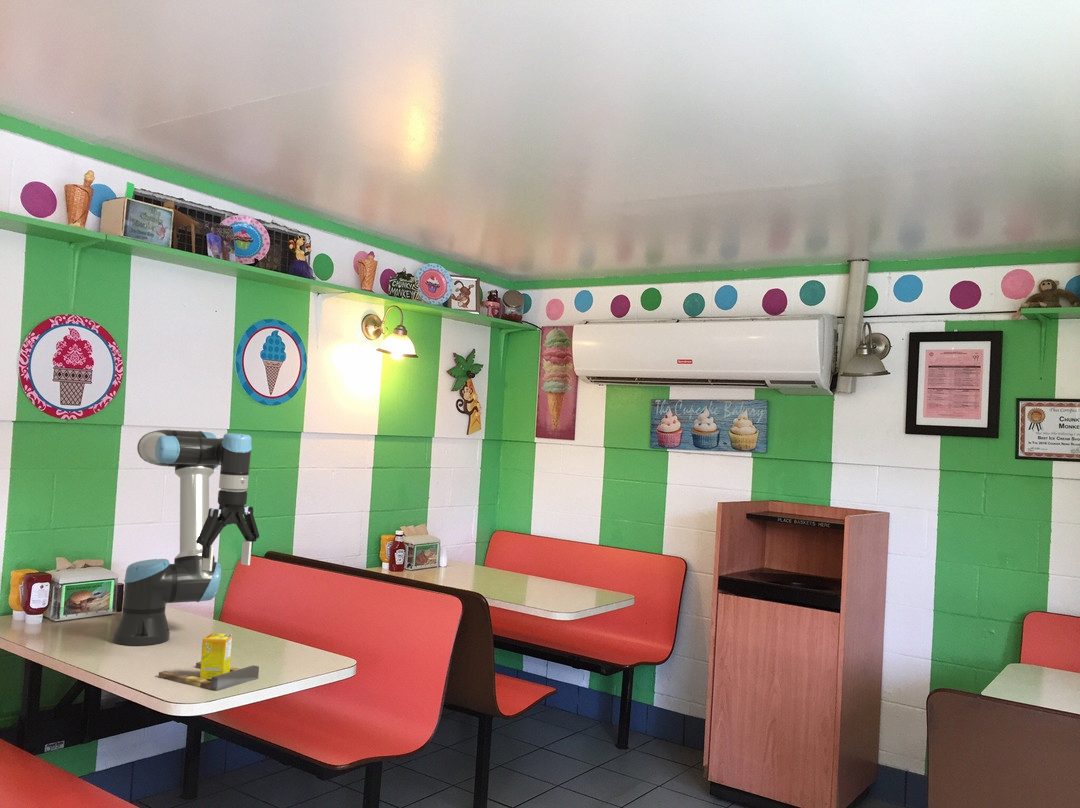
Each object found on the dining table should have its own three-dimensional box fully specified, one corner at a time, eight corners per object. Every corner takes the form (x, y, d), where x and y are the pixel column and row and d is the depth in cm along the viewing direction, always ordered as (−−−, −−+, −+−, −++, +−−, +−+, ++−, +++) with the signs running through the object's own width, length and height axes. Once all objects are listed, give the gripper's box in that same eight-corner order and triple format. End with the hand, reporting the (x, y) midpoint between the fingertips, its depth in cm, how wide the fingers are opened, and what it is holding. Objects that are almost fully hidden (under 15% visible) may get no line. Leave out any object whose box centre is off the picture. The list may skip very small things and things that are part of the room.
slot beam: (158, 677, 217) (159, 665, 217) (201, 665, 230) (202, 654, 230) (216, 690, 208) (217, 678, 209) (258, 678, 221) (259, 666, 221)
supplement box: (206, 675, 221) (209, 632, 222) (229, 676, 221) (233, 633, 222) (198, 681, 215) (202, 638, 216) (223, 682, 215) (226, 639, 216)
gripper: (207, 493, 221) (200, 574, 221) (276, 489, 244) (269, 564, 243) (186, 490, 225) (179, 570, 224) (256, 487, 247) (250, 560, 247)
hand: (226, 567), depth 234 cm, fingers open, 13 cm apart
